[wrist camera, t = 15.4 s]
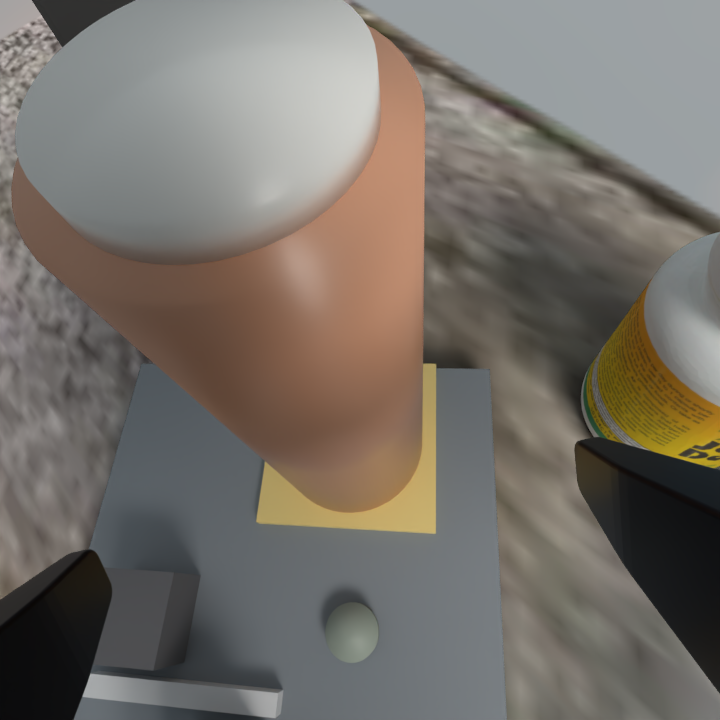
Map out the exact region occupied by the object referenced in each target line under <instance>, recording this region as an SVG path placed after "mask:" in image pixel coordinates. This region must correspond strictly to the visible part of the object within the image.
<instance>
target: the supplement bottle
mask: <svg viewBox="0 0 720 720" xmlns="http://www.w3.org/2000/svg"><path fill="white" fill-rule="evenodd" d="M581 407H582V412H583V416H584V419H585V421H586V424H587V426H588V428H589V430H590V432H591V433H592V435H593V436H594V437H602V438H605V439H609V440H613V441H616V442H620V443H624V444H627V445H631V446H634V447H638V448H642V449H645V450H649V451H653V452H656V453H660V454H664V455H667V456H671V457H674V458H678V459H682V460H685V461H689V462H693V463H696V464H700V465H704V466H707V467H711V468H716V467H719V466H720V232H717V233H714V234H710V235H707V236H705V237H702V238H699V239H697V240H695V241H693V242H691V243H689V244H687V245H686V246H684V247H682V248H681V249H680V250H678V251H677V252H676V253H674V254H673V255H672V256H671V257H670V258H669V259H668V260H667V261H666V262H664V263H663V265H662V266H661V267H660V268H659V270H658V271H657V272H656V273H655V275H654V276H653V278H652V279H651V280H650V282H649V283H648V285H647V286H646V288H645V289H644V290H643V292H642V293H641V295H640V296H639V298H638V299H637V300H636V302H635V303H634V305H633V306H632V307H631V309H630V310H629V312H628V313H627V315H626V316H625V317H624V319H623V320H622V322H621V323H620V324H619V326H618V327H617V329H616V330H615V331H614V333H613V334H612V335H611V337H610V338H609V340H608V341H607V342H606V344H605V345H604V346H603V348H602V349H601V351H600V352H599V354H598V355H597V356H596V358H595V359H594V361H593V362H592V364H591V365H590V367H589V368H588V370H587V372H586V375H585V378H584V381H583V384H582V390H581Z"/></svg>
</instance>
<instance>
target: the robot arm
mask: <svg viewBox="0 0 720 720" xmlns="http://www.w3.org/2000/svg"><path fill="white" fill-rule="evenodd" d="M575 461H576V472H577V481H578V486H579V489H580V491H581V494H582V495H583V497H584V499H585V500H586V502H587V504H588V506H589V507H590V509H591V511H592V512H593V514H594V516H595V517H596V519H597V521H598V523H599V524H600V526H601V528H602V529H603V531H604V533H605V534H606V536H607V538H608V539H609V541H610V543H611V545H612V546H613V548H614V550H615V551H616V553H617V555H618V556H619V558H620V559H621V561H622V563H623V564H624V566H625V567H626V568H627V570H628V571H629V573H630V574H631V576H632V577H633V578H634V580H635V581H636V582H637V584H638V585H639V586H640V588H641V589H642V590H643V592H644V593H645V594H646V596H647V597H648V598H649V600H650V601H651V602H652V604H653V605H654V606H655V608H656V609H657V610H658V612H659V613H660V614H661V616H662V617H663V618H664V620H665V621H666V622H667V624H668V625H669V626H670V628H671V629H672V630H673V632H674V633H675V634H676V636H677V637H678V638H679V640H680V641H681V642H682V644H683V645H684V646H685V648H686V649H687V650H688V652H689V653H690V654H691V656H692V657H693V658H694V660H695V661H696V662H697V664H698V665H699V666H700V668H701V669H702V670H703V672H704V673H705V675H706V676H707V677H708V679H709V680H710V681H711V683H712V684H713V685H714V687H715V688H716V689H717V691H718V692H719V693H720V470H718V469H714V468H711V467H707V466H704V465H700V464H696V463H693V462H689V461H685V460H682V459H678V458H674V457H671V456H667V455H664V454H660V453H656V452H653V451H649V450H645V449H642V448H638V447H634V446H631V445H627V444H624V443H620V442H616V441H613V440H609V439H605V438H602V437H593V438H588V439H584V440H580V441H577V443H576V444H575ZM111 599H112V585H111V582H110V579H109V577H108V575H107V573H106V571H105V569H104V566H103V564H102V562H101V560H100V558H99V556H98V554H97V553H96V552H95V551H94V550H91V549H87V550H82V551H78V552H73V553H70V554H68V555H66V556H64V557H63V558H62V559H60V560H59V561H57V562H56V563H54V564H53V565H51V566H50V567H48V568H47V569H45V570H44V571H42V572H41V573H39V574H38V575H36V576H35V577H33V578H32V579H30V580H29V581H27V582H26V583H24V584H23V585H21V586H20V587H18V588H17V589H15V590H14V591H13V592H11V593H10V594H8V595H7V596H5V597H4V598H2V599H1V600H0V720H74V718H75V715H76V712H77V710H78V707H79V705H80V702H81V699H82V697H83V694H84V691H85V688H86V686H87V683H88V680H89V676H90V673H91V670H92V667H93V663H94V660H95V656H96V653H97V649H98V645H99V642H100V638H101V635H102V631H103V628H104V624H105V621H106V617H107V614H108V610H109V606H110V603H111Z"/></svg>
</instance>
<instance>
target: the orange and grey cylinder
mask: <svg viewBox="0 0 720 720" xmlns="http://www.w3.org/2000/svg"><path fill="white" fill-rule="evenodd" d="M15 140H16V151H17V155H18V158H17V161H16V165H15V168H14V173H13V180H12V187H11V191H12V209H13V213H14V217H15V222H16V226H17V228H18V230H19V232H20V234H21V237H22V239H23V241H24V243H25V245H26V246H27V247H28V249H29V250H30V251H31V253H32V254H33V255H34V257H35V258H36V259H37V261H39V262H40V263H41V264H42V265H43V266H44V267H45V268H46V269H47V270H49V271H50V272H51V273H52V274H53V275H54V276H55V277H56V278H58V279H59V280H60V281H61V282H62V283H63V284H64V285H66V286H67V287H68V288H69V289H70V290H71V291H72V292H73V293H75V294H76V295H77V296H78V297H79V298H80V299H81V300H83V301H84V302H85V303H86V304H87V305H88V306H89V307H90V308H92V309H93V310H94V311H95V312H96V313H97V314H98V315H100V316H101V317H102V318H103V319H104V320H105V321H106V322H108V323H109V324H110V325H111V326H112V327H113V328H114V329H115V330H117V331H118V332H119V333H120V334H121V335H122V336H123V337H125V338H126V339H127V340H128V341H129V342H130V343H131V344H133V345H134V346H135V347H136V348H137V349H138V350H139V351H140V352H142V353H143V354H144V355H145V356H146V357H147V358H148V359H150V360H151V361H152V362H153V363H154V364H155V365H156V366H158V367H159V368H160V369H161V370H162V371H163V372H164V373H165V374H167V375H168V376H169V377H170V378H171V379H172V380H173V381H175V382H176V383H177V384H178V385H179V386H180V387H181V388H182V389H184V390H185V391H186V392H187V393H188V394H189V395H190V396H192V397H193V398H194V399H195V400H196V401H197V402H198V403H200V404H201V405H202V406H203V407H204V408H205V409H206V410H207V411H209V412H210V413H211V414H212V415H213V416H214V417H215V418H217V419H218V420H219V421H220V422H221V423H222V424H223V425H225V426H226V427H227V428H228V429H229V430H230V431H231V432H232V433H234V434H235V435H236V436H237V437H238V438H239V439H240V440H242V441H243V442H244V443H245V444H246V445H247V446H248V447H249V448H251V449H252V450H253V451H254V452H255V453H256V454H257V455H259V456H260V457H261V458H262V459H263V460H264V461H265V462H267V463H268V464H269V465H270V466H271V467H272V468H273V469H274V470H276V471H277V472H278V473H279V474H280V475H281V476H282V477H284V478H285V479H286V480H287V481H288V482H289V483H290V484H292V485H293V486H294V487H295V488H296V489H297V490H298V491H299V492H301V493H302V494H303V495H304V496H305V497H306V498H307V499H309V500H310V501H312V502H313V503H315V504H317V505H319V506H321V507H323V508H325V509H329V510H332V511H336V512H342V513H355V512H363V511H367V510H371V509H374V508H377V507H379V506H381V505H383V504H385V503H387V502H389V501H390V500H391V499H393V498H394V497H395V496H397V495H398V494H399V493H400V492H401V491H402V490H403V489H404V488H405V487H406V485H407V484H408V483H409V482H410V480H411V478H412V477H413V475H414V473H415V471H416V469H417V466H418V464H419V461H420V457H421V451H422V416H423V302H424V188H425V103H424V99H423V94H422V89H421V85H420V83H419V81H418V78H417V76H416V74H415V72H414V69H413V68H412V66H411V65H410V63H409V62H408V60H407V59H406V57H405V56H404V54H403V53H402V52H401V51H400V50H399V49H398V48H397V47H396V46H395V45H394V44H393V43H392V42H391V41H390V40H388V39H387V38H386V37H384V36H383V35H382V34H380V33H379V32H378V31H376V30H375V29H373V28H371V27H369V26H368V25H366V24H365V22H364V21H363V19H362V17H361V16H360V15H359V14H358V13H357V12H356V11H355V10H354V9H353V8H352V7H351V6H350V5H348V4H347V3H346V2H344V1H343V0H135V1H133V2H131V3H129V4H127V5H125V6H123V7H121V8H119V9H117V10H115V11H113V12H111V13H110V14H108V15H106V16H104V17H103V18H101V19H99V20H98V21H96V22H95V23H93V24H92V25H90V26H89V27H87V28H86V29H85V30H83V31H82V32H80V33H79V34H78V35H77V36H75V37H74V38H73V39H72V40H71V41H69V42H68V43H67V44H66V45H65V46H64V47H63V48H62V49H61V50H60V51H58V52H57V53H56V54H55V55H54V56H53V57H52V58H51V60H50V61H49V62H48V63H47V64H46V66H45V67H44V68H43V69H42V70H41V71H40V73H39V74H38V76H37V77H36V79H35V80H34V82H33V83H32V85H31V86H30V88H29V90H28V92H27V94H26V96H25V98H24V100H23V102H22V106H21V109H20V112H19V115H18V118H17V125H16V131H15Z"/></svg>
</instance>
